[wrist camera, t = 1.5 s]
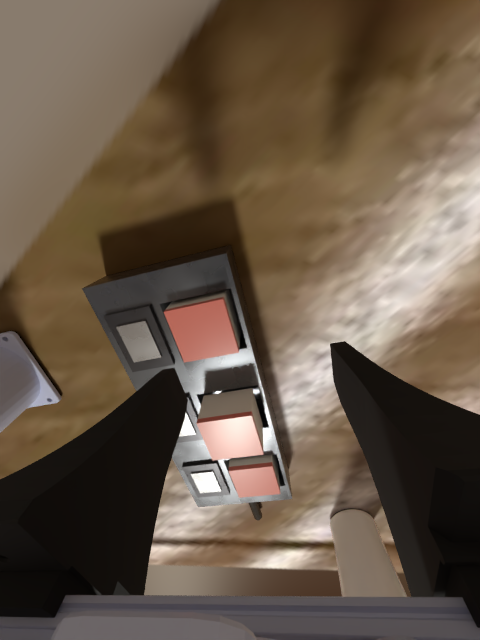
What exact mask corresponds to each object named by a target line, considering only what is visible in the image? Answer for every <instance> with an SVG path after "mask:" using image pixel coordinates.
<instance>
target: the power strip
mask: <svg viewBox="0 0 480 640" xmlns="http://www.w3.org/2000/svg"><path fill="white" fill-rule="evenodd" d="M82 289H83V291H84V293H85V295H86V297H87V299H88V301H89V302H90V304H91V306H92V308H93V310H94V312H95V314H96V316H97V318H98V319H99V321H100V323H101V325H102V327H103V329H104V331H105V333H106V334H107V336H108V338H109V340H110V342H111V344H112V346H113V348H114V350H115V351H116V353H117V355H118V357H119V359H120V361H121V363H122V365H123V366H124V368H125V370H126V372H127V374H128V376H129V378H130V380H131V382H132V383H133V385H134V387H135V389H136V391H138V390H139V389H140V388H141V387H142V386H143V385H144V384H146V383H147V382H148V381H149V380H150V379H151V378H152V377H154V376H155V375H156V374H157V373H159V372H160V371H161V370H163V369H169V368H175V370H176V373H177V375H178V377H179V380H180V382H181V385H182V387H183V389H184V392H185V394H186V397H187V399H188V403H187V409H186V414H185V419H184V422H183V426H182V429H181V432H180V435H179V438H178V441H177V444H176V447H175V449H174V452H173V455H172V459H173V461H174V462H175V464H176V466H177V468H178V470H179V472H180V474H181V476H182V478H183V479H184V481H185V483H186V485H187V487H188V489H189V491H190V493H191V494H192V496H193V498H194V500H195V502H196V504H197V506H198V507H205V506H216V505H228V504H239V503H249V505H250V508H251V510H252V513H253V515H254V518H255V519H256V520H260V519H261V518H262V513H261V510H260V507H259V505H258V502H262V501H274V500H285V499H292V494H291V485H290V477H289V469H288V466H287V462H286V458H285V454H284V450H283V446H282V442H281V438H280V434H279V431H278V427H277V423H276V419H275V415H274V411H273V407H272V403H271V399H270V395H269V392H268V388H267V384H266V380H265V376H264V372H263V368H262V364H261V360H260V357H259V353H258V349H257V345H256V341H255V337H254V333H253V329H252V325H251V321H250V318H249V314H248V310H247V306H246V302H245V298H244V294H243V290H242V286H241V283H240V279H239V275H238V271H237V267H236V263H235V259H234V255H233V251H232V247H231V245H228V246H224V247H220V248H216V249H212V250H208V251H204V252H200V253H196V254H192V255H188V256H184V257H180V258H176V259H172V260H168V261H164V262H160V263H156V264H152V265H148V266H144V267H140V268H136V269H132V270H128V271H124V272H120V273H116V274H112V275H108V276H105V277H103V278H101V279H99V280H97V281H96V282H94V283H92V284H90V285H88V286H86V287H84V288H82ZM225 289H229V292H230V295H231V299H232V302H233V306H234V309H235V313H236V317H237V320H238V324H239V327H240V331H241V339H240V348H239V353H234V354H229V355H223V356H218V357H212V358H207V359H201V360H196V361H190V362H185V363H184V361H183V359H182V356H181V354H180V351H179V349H178V346H177V344H176V341H175V339H174V337H173V334H172V332H171V329H170V327H169V324H168V322H167V319H166V317H165V314H164V311H165V310H166V308H167V307H168V306H169V305H170V303H171V302H172V301H176V300H180V299H185V298H189V297H194V296H198V295H203V294H207V293H212V292H216V291H220V290H225ZM249 388H252V389H253V393H254V396H255V399H256V403H257V406H258V410H259V413H260V417H261V420H262V424H263V450H264V455H256V456H265V455H274V454H275V456H276V460H277V463H278V469H279V481H280V493H281V494H275V495H264V496H253V497H242V498H239V496H238V493H237V491H236V488H235V486H234V484H233V481H232V479H231V476H230V474H229V471H228V470H229V460H230V459H239V458H247V457H256V456H247V457H239V458H230V459H221V460H212V458H211V456H210V453H209V451H208V449H207V446H206V444H205V442H204V440H203V437H202V435H201V433H200V430H199V428H198V426H197V424H196V423H197V419H198V416H199V412H200V408H201V404H202V400H203V397H204V396H205V395H211V394H218V393H224V392H230V391H237V390H243V389H249Z"/></svg>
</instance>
